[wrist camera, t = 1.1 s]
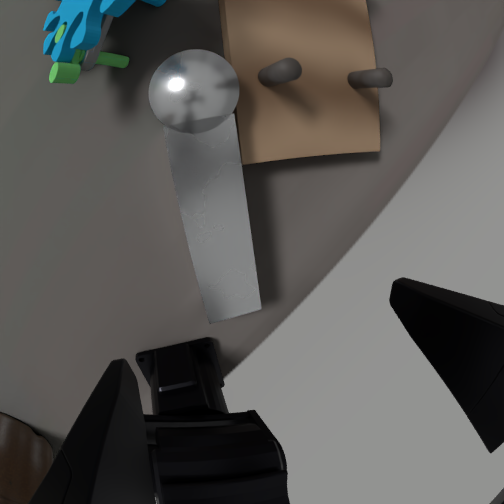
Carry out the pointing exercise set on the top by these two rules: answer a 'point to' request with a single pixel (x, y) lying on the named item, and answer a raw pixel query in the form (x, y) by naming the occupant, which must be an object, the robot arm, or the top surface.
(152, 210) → the top surface
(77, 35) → the gear
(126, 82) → the top surface
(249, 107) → the peg rack
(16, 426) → the plant pot
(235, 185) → the ball knob lever
